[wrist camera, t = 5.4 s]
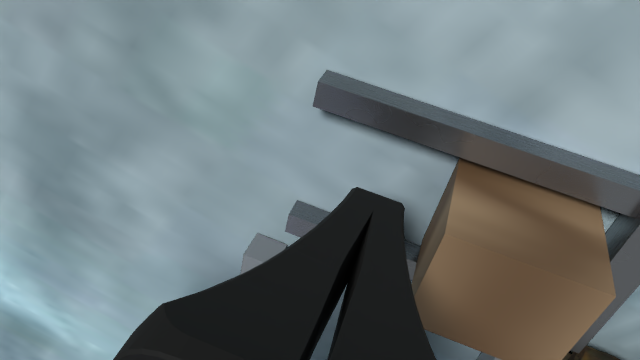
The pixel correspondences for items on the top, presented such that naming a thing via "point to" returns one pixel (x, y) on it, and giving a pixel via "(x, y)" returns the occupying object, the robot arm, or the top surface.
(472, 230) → the key block
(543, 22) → the top surface
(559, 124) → the top surface
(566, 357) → the rack
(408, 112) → the key guide
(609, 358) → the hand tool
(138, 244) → the top surface
